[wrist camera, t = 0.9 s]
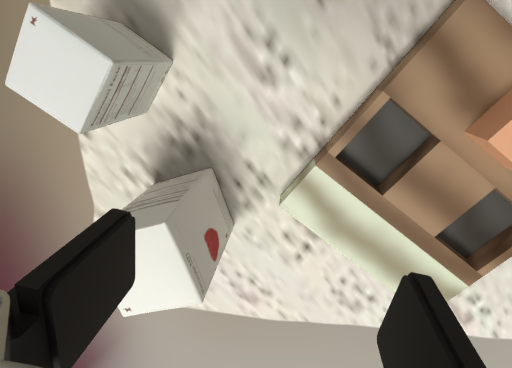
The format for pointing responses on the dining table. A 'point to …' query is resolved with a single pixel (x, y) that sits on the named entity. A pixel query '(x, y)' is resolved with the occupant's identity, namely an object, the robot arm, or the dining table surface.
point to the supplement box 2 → (176, 242)
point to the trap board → (420, 162)
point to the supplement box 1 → (84, 68)
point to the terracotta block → (496, 130)
